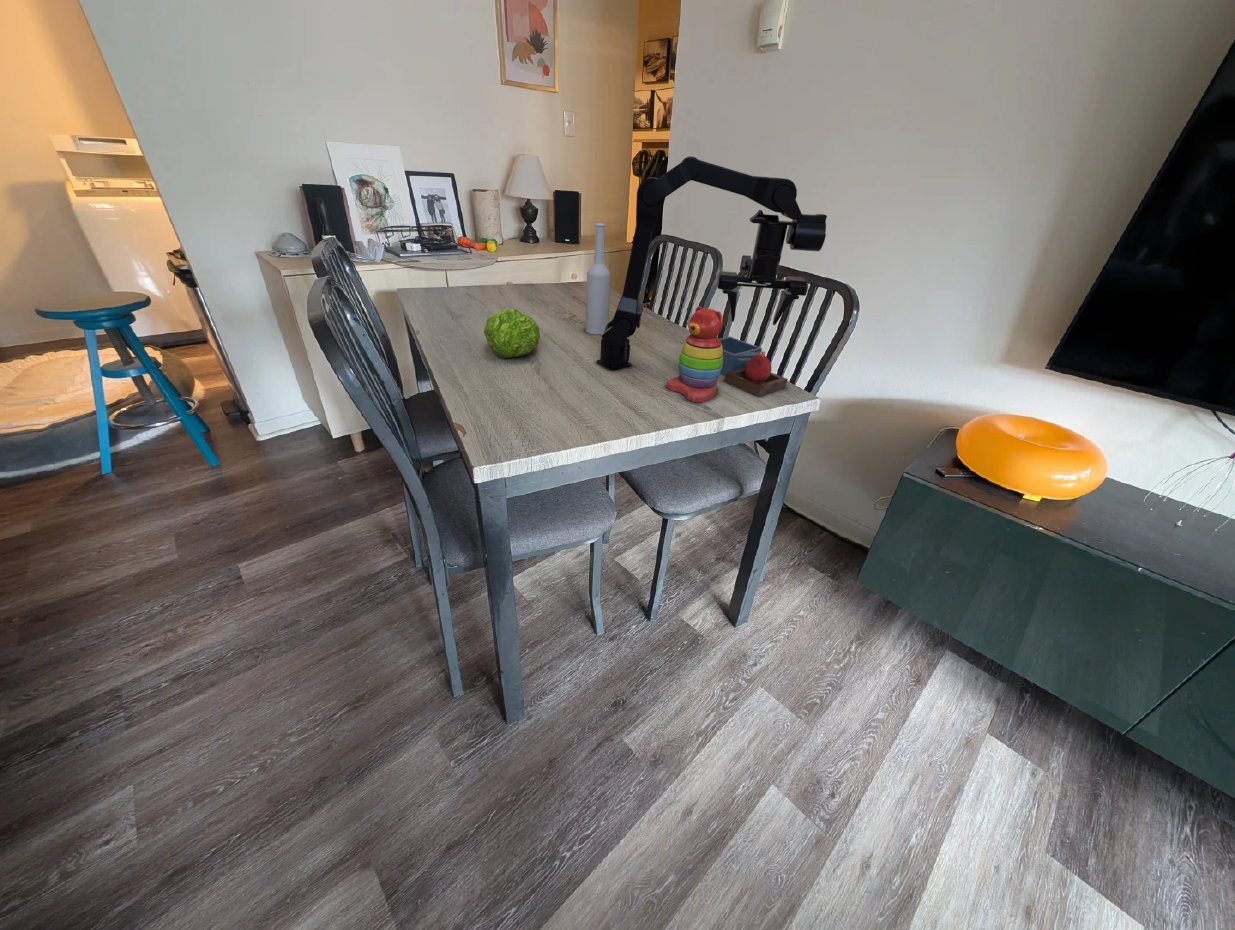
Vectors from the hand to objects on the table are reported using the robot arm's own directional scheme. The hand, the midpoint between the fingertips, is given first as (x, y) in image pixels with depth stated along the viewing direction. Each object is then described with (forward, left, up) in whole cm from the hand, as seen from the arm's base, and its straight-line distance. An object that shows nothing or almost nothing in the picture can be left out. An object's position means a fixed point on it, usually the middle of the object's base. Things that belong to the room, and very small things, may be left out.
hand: (753, 322), depth 107 cm
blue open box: (+2, +6, -13) cm, 14 cm away
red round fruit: (-2, -5, -13) cm, 14 cm away
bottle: (-11, +45, -13) cm, 48 cm away
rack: (-2, -5, -13) cm, 14 cm away
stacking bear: (-17, 0, -13) cm, 21 cm away
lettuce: (-39, +44, -13) cm, 60 cm away
